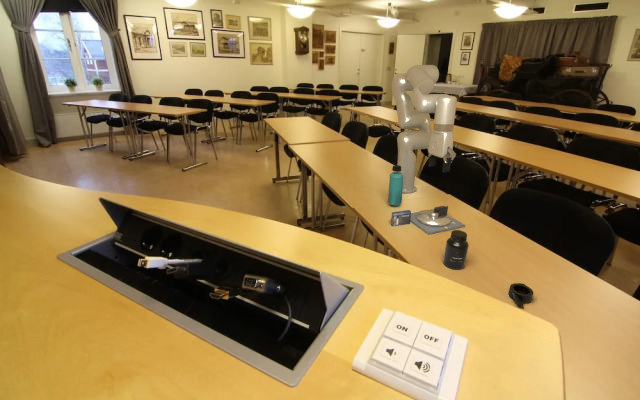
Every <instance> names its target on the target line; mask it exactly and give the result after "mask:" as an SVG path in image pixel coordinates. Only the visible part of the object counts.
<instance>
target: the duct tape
mask: <svg viewBox="0 0 640 400" xmlns="http://www.w3.org/2000/svg"><path fill="white" fill-rule="evenodd" d="M507 294H508V295H509V296H508V297H509V298H510V299H511V300H512V301H513V302H515V304H516V305H517V306H520V307H522V308H524V306H525V305H527V304H530V303H532V301H533V300H532V299H533V297H534V291H533V289H532V288H531V287H530V286H528V285H526V284H525V283H521V282H517V283H516V282H515V283H511V284H510V286H509V289H508V293H507Z"/></svg>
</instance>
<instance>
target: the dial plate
mask: <svg viewBox="0 0 640 400" xmlns="http://www.w3.org/2000/svg"><path fill="white" fill-rule="evenodd" d="M430 210H434V208H432V209H430ZM418 212H419V211H416V212H411V219H410V224H412V225H414V226H415V227H417V228H418V229H420V231H422V232H424V233H425V234H427V235H428V236H431V235H436V234H440V233H443V232H444V233H445V232H448V231H453V230H459V229H462V228H463V229H464V228H466V224H465V223H463V222H461V221H460V220H458V219H456V218H454V217H452V216H451V215H449V216H450V217H451V222H450V224H449V225H447V226H443V227H433V226H428V225H424V224H422V223H420V222H419V221H418V220H417V219H416V215H417V213H418Z"/></svg>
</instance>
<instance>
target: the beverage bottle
mask: <svg viewBox="0 0 640 400" xmlns="http://www.w3.org/2000/svg"><path fill="white" fill-rule="evenodd" d="M391 170H392V171H393V172H391V173H390V174H389V181H388V182H389V183H388V195H387V196H388V198H387V199H388V200H387V203H388V204H389V205H391V206H401V204H402V200H403V193H402V188H403V174H402V173H400V171H401V166H399V165H397V164H396V165H393V166H392V168H391Z"/></svg>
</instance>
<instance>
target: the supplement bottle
mask: <svg viewBox="0 0 640 400" xmlns="http://www.w3.org/2000/svg"><path fill="white" fill-rule="evenodd" d="M467 240H468V234H467V233H466V231H463V230H460V229H454V230H451V232H450V237H449V238H447V239H446V243H445V248H444V255H443V261H442V262H443V263H442V264H443V265H444V266H445V267H447V268H449V269H451V270H462V269H463V268H464V267H465V266H466V261H467V255H468V251H469V245H470V244H469V242H468V241H467Z"/></svg>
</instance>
